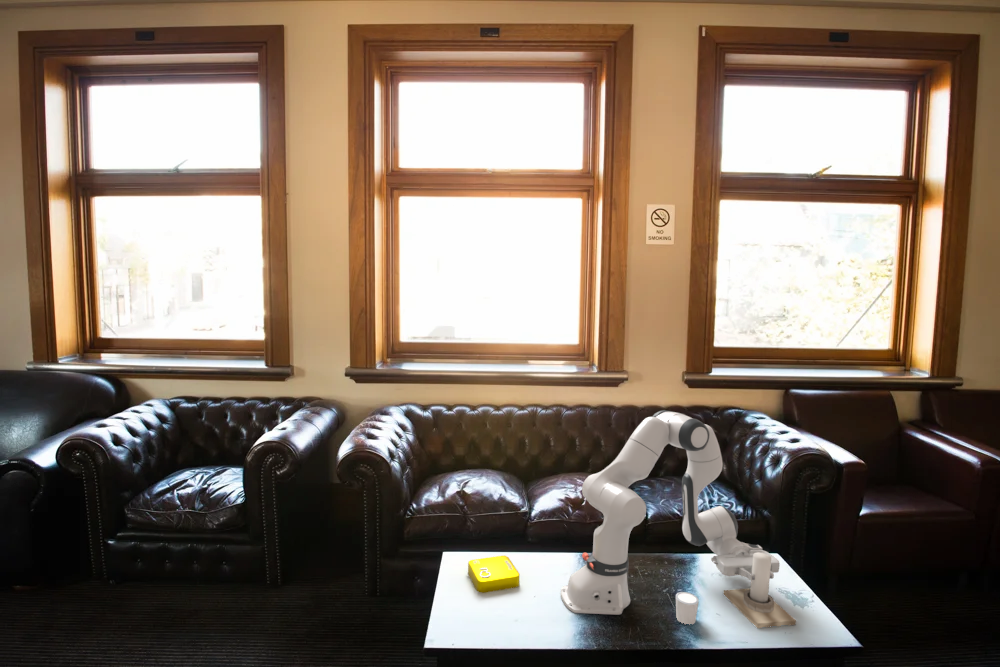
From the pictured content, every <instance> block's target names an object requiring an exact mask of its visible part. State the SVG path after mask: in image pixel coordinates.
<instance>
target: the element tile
mask: <svg viewBox="0 0 1000 667" xmlns="http://www.w3.org/2000/svg"><path fill="white" fill-rule="evenodd" d="M467 574H468V576H469V578H470V580H471V583H472V584H473V586H474V588H475V590H476V592H478V593H482V594H486V593H492V592H498V591H503V590H504V591H505V590H509V589H510V590H511V589H516V588H518V587H519V586H520V572H519V571H518V569H517V568H516V566H515V565H514V564H513V561H512V560H511V559H510V558H509V557H508V556H507V555H498V556H489V557H484V558H475V559H470V560H469V561H468V563H467Z"/></svg>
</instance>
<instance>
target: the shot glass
mask: <svg viewBox="0 0 1000 667" xmlns="http://www.w3.org/2000/svg"><path fill="white" fill-rule="evenodd" d="M699 600H700V599H699V598H698V596H697V595H695V594H694V593H691V592H686V591H680V592H679V591H678V592H677V593H676V594H675V614H676V615H675V616H676V618H677V621H678V622H679V623H680V622H681V624H683V623H684V624H683V625H686V624H689V625H688V626H691V625H690V624H692V625H694V624H695V623H696V621H697V613H698V608H699V602H700V601H699Z"/></svg>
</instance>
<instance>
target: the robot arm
mask: <svg viewBox="0 0 1000 667" xmlns="http://www.w3.org/2000/svg"><path fill="white" fill-rule="evenodd" d="M667 445H671V446H673V447H676V448H679V449H683V450H685V452H686V456H687V468H686V471H685V472H684V474H683V476H682V479H681V497H682V501H681V502H682V519H681V520H682V521H681V530H682V534H683V536H684V538H685V540H686V541H687V542H688V543H689V544H691V545H694V546H698V547H702V546H704V545H705V544H706V545H707V547H708V548H709V549H710V550H711V551H712V552H713V553H714V554H715V555H714V556H712V557H711V558H710V560H711V561H712V563H713V564H715V566H716V568H717V570H719V572H720V573H721V574H722V575H723V576H726V577H733V576H741V577H744V578H747V579H748V580H749V581H751V580H755V575H754V574H753V573H752V564H753V554H754V553H757V552H760V553H764V554H767V555H769V556H770V557H771V569H770V580H771V579H772V580H773V579H774V577H775V575H774V573H779V571H780V565H781V564H780V560H779V559H778V558H776V557H775V556H774V555H773V554H771V553H769V551H766V550H763V547H762V546H761V545H759V544H751V543H745V542H743V541H740V540H738V538H737V536H738V533H739V532H738V531H739V530H738V529H739V525H738V524H739V523H738V520H737V518H736V515H734V514H733V512H732V511H731V510H729V509H728V508H727V507H724V506H722V505H718V506H715V507H712V508H709V509H707V510H704V511H702V512H699V502H698V501H699V499H698V498H699V496H700V493H701V492H702V491H703V490H704V489H705V488H706V487H707V486H709V485H710V484H711V483H712V482H714V481H715V480H716V479H717V478H718V477H719V476H720V474H721V472H722V471H723V456H722V452H721V448H720V444H719V442H718V438H717V435H716V434H715V431H714V429H713V428H712V427H711V426H710V425H708V424H705V423H703V422H702V421H700V420H699V419H697V418H692V417H691V416H688V415H686V414H685V413H680V412H675V411H671V410H666V409H665V410H659V411H657V412H655V413H654V414H653V415H652V416H648V417H645V418H644V419H643V420H642V421H641V422H640V423H639V424H638V426H637V427H635V429H634V431H633V432H632V434H631V435H630V436H629V438H628V440H627V441H626V443H625V444H624V446H623V448H622V449H621V450H620V452H619V453H618V455H617V456H616V457H615V459H613V461H612V462H611V463H610V464H609V465H607V466H606V467H604V469H602V470H601V471H599V472H596V473H593V474H590V475H588V476H587V477H586V478H585V480H584V481H583V483H582V485H581V487H582V488H581V491H582V492H581V493H582V495H583V497H584V499H585V500H586V502H588V503H589V505H590V506H592V507H593V508H595V509H596V510H597V511H599V512H601V514H603V522H602V524H601V525H600V526H599V525H598V526H597V527H596V528H595V529H594V532H593V542H592V544H593V545H592V553H591V554H590V556H589V553H587V552H582V555H581V557H582V558H583V560H584V561H586V564H584V566H582V567H581V568H579V569H578V570H576V571H574V572H573V573H572V574H571V575H570V576H569V579H568V582H567V585H562V587H561V589H560V598H561V601H562V602H563V604H564V605H565V607H566V608H567V609H568V610H570V611H571V612H572V613H575V614H591V615H592V614H593V615H595V614H596V615H598V614H599V615H615V616H616V615H622V613H623V612H624V609H626V608H627V607H629V605H630V604H631V597H630V593H629V586H628V574H629V566H630V565H629V557H628V551H629V541H630V540H629V538H630V534H631V531H632V530H633V529H634V527H636V526H639V525H641V523H642V522H643V521H644V519H645V516H646V514H647V504H646V502H645V501H644V499H642V497H640V496H639V494H638V493H636V492H635V491H634V490H633V489H631V488H629V487H630V486H631V485H632V484H634V483H635V482H637V481H641V480H645V479H646V478H648V477H649V474H650V473H651V471H652V470H653V468H654V467H655V464H656V463H657V461H658V460H659V458H660V457H661V454H662V452H663V451H664V448H665V447H666V446H667Z"/></svg>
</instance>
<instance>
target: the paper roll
mask: <svg viewBox="0 0 1000 667" xmlns="http://www.w3.org/2000/svg"><path fill="white" fill-rule="evenodd" d="M770 569H771V557H770V556H769V555H767V554H764V553H760V552H757V553H754V554H753V564H752V573H753V574H754V575H755V580H750V588H751V589H750V599H751V600H753V601H755V602H758V603H768V594H770V593H769V590H770V580H771V579H770Z"/></svg>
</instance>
